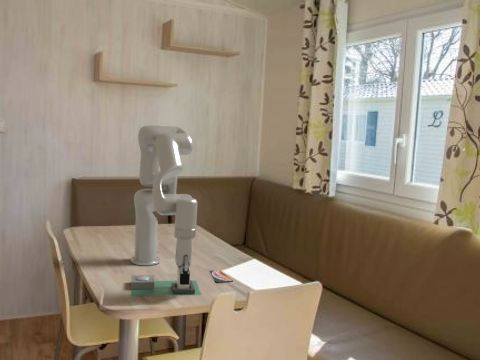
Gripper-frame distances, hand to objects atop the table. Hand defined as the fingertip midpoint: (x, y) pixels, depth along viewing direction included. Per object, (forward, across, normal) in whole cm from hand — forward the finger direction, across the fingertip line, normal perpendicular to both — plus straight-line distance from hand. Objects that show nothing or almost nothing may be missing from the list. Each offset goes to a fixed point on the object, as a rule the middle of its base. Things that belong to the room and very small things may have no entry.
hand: (183, 279), depth 178 cm
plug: (+4, 0, 0) cm, 4 cm away
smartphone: (+6, -19, +16) cm, 25 cm away
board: (+5, -3, -6) cm, 8 cm away
